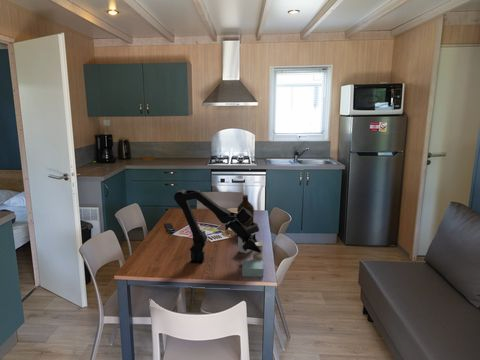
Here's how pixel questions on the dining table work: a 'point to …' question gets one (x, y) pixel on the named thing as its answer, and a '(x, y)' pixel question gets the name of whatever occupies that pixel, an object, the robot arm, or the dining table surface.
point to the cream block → (256, 254)
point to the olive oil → (248, 206)
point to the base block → (252, 268)
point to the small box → (240, 246)
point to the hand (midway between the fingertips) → (260, 250)
